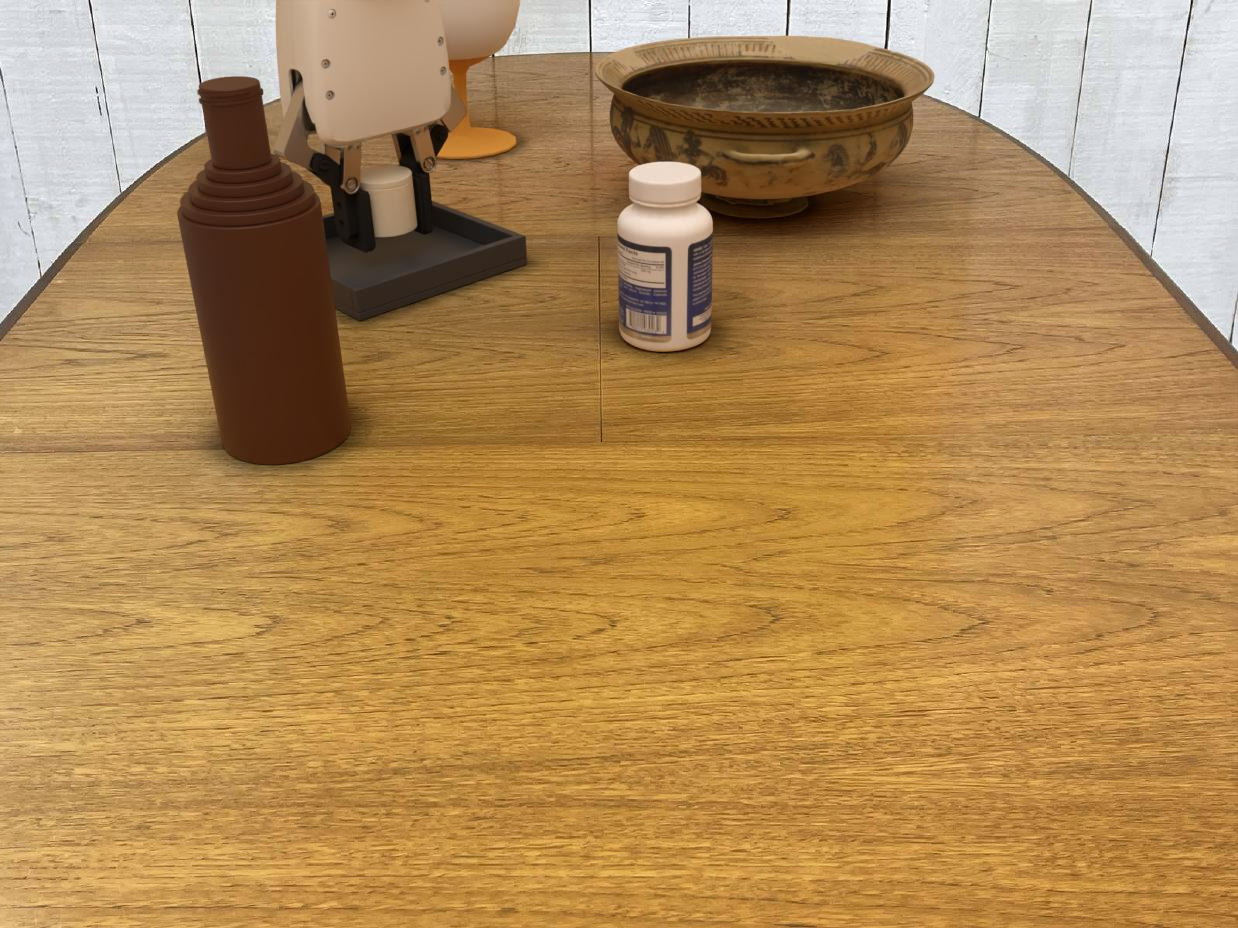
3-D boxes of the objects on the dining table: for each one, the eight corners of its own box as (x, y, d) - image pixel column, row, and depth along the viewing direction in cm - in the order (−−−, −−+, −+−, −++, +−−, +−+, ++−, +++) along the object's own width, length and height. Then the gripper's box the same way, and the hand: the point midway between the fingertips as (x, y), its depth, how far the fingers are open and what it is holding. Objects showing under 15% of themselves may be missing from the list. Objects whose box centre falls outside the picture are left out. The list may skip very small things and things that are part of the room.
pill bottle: (691, 311, 77) (694, 152, 72) (724, 346, 72) (730, 180, 67) (606, 323, 75) (603, 162, 70) (635, 359, 71) (634, 191, 66)
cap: (430, 223, 83) (424, 170, 81) (390, 241, 80) (384, 187, 78) (385, 214, 85) (379, 161, 83) (344, 231, 82) (337, 177, 80)
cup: (542, 127, 113) (534, -79, 104) (519, 165, 103) (508, -58, 94) (414, 124, 114) (396, -79, 105) (379, 162, 104) (356, -59, 95)
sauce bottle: (198, 434, 64) (126, 84, 55) (306, 392, 68) (255, 59, 59) (265, 479, 60) (198, 109, 51) (376, 432, 64) (332, 81, 55)
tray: (249, 264, 84) (244, 236, 83) (411, 217, 92) (408, 191, 91) (360, 321, 76) (356, 290, 75) (527, 264, 84) (526, 235, 83)
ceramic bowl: (946, 280, 80) (967, 124, 75) (575, 272, 82) (571, 120, 77) (896, 146, 106) (909, 23, 101) (615, 142, 108) (613, 22, 103)
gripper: (430, -80, 81) (453, 196, 90) (191, -50, 71) (245, 256, 80) (503, -70, 76) (520, 220, 86) (258, -36, 66) (307, 287, 76)
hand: (387, 235), depth 83 cm, fingers closed on cap, 3 cm apart
